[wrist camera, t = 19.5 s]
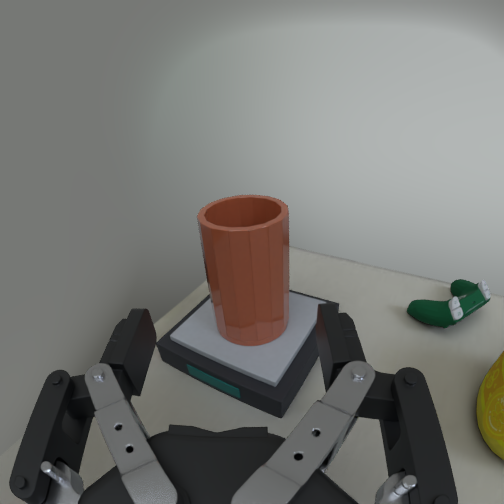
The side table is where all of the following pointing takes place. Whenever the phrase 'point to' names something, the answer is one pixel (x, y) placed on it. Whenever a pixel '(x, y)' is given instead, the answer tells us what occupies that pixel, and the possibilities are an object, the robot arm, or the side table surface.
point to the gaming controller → (451, 304)
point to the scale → (247, 355)
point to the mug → (492, 407)
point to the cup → (247, 266)
